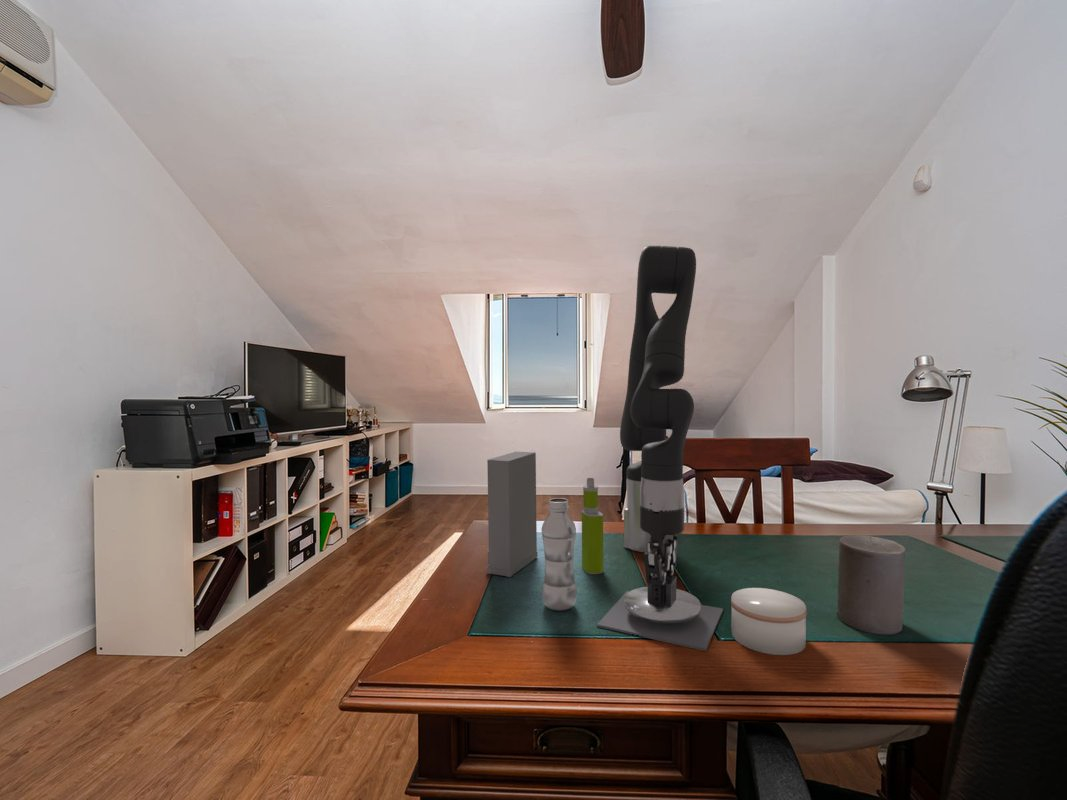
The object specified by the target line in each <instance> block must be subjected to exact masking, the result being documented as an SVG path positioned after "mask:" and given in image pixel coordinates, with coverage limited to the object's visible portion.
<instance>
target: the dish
mask: <svg viewBox="0 0 1067 800" xmlns="http://www.w3.org/2000/svg"><path fill="white" fill-rule="evenodd" d="M730 596H731V597H730V605H731V624H730V625H731V628H730V629H731V632H732V633H731V636H732V638H733V637H734V638H735V639H734V638H733V639H734V640H735V641H736V642H737V643H739V644H740V645H741V646H744V647H745V648H748V649H750V650H752V651H756V652H758V653H763V654H766V655H773V656H790V655H795V654H798V653H801V652H802V651H804V650H805V649H806V643H807V642H806V639H807V636H806V635H807V634H806V631H807V630H806V627H807V621H806V620H807V619H806V618H807V615H808V614H807V611H808V608H807V606H806V603H804V601H803V600H802V599H800V598H799V597H796V596H795V595H792V594H790V593H788V592H785V591H780V590H777V589H771V588H767V587H765V588H763V587H747V588H746V587H745V588H742V589H738V590H736V591H733V592H732V595H730Z"/></svg>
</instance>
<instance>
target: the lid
mask: <svg viewBox="0 0 1067 800" xmlns="http://www.w3.org/2000/svg"><path fill="white" fill-rule="evenodd" d="M655 577H658V576H657V575H656V574H655ZM629 591H630V592H628V593H627V594H626V595H625V608H626V609H627V610H628V611H629V612H630V613H631V614H633V615H634V616H636V617H638V618H641V619H644V620H647V621H651V622H657V623H667V624H674V623H683V622H688V621H691V620H693V619H695V618H697V617H698V616H699V615H700V613H701V605H702V603H701V602H700V600H699V599H698V598H697V597H696V596H695V595H693V594H692V593H689V592H688V591H685V590H682V589H679V588H677V576H675V575H672V576H670V575H666V584H665V605H664V606H657V605H653V604H652V584H651V583H647V586H642V587H637V588H634V589H631V590H629Z"/></svg>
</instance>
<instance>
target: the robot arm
mask: <svg viewBox="0 0 1067 800" xmlns="http://www.w3.org/2000/svg"><path fill="white" fill-rule="evenodd" d="M696 271H697V257H696V253H695V250H694V249H692V248H691V247H686V246H668V245H646V246H645V247H643V248H642V250H641V253H640V255H639V261H638V267H637V279H636V281H637V282H636V298H635V299H636V301H635V302H636V303H635V317H634V318H635V319H634V324H633V332H632V340H631V344H630V352H629V361H628V373H627V374H628V375H627V385H626V386H627V387H626V388H627V389H626V394H625V395H626V396H625V400H624V401H625V402H624V405H623V411H622V417H621V420H620V427H619V439H620V440H619V441H620V444H621V447H622V448H623V449H624V450H626V451H632V452H640V453H641V454H640V455H641V456H640V457H641V458H640V459H641V460H639V461H637V462H635V463H632V464H630V465H628V466H627V467H626V471H625V472H626V507H625V508H624V509H623V548H626V549H629V550H631V551H635V552H639V553H644V554H643V560H644V569H645V578H646V583H647V584H648V583H651V584H652V604H653V605H657V606H664V605H665V584H666V575H670V576H674V571H675V570H674V569H676V567H677V553H678V540H679V534H681V533H683V532H684V530H685V487H684V478H683V477H684V475H683V474H684V471H683V469H684V466H683V465H684V464H683V463H684V449H685V444H686V438H687V435H688V432H689V428H690V425H691V421H692V419H693V415H694V410H695V403H694V399H693V397H692V395H691V393H689V391H688V390H686V389H684V388H664V387H667V386H671V385H674V384H677V383H679V382H680V381H681V380H682V379H683V377H684V374H685V358H686V357H685V356H686V355H685V354H686V353H685V351H686V336H687V329H688V324H689V319H690V313H691V307H692V303H693V295H694V288H695V280H696V274H697V273H696ZM652 294H666V295H676V296H675V298H674V300H673V302H672V304H671V305H670V306H669V308H668V309H667V310H666V311H665V313H664V314H663V315H662V316H661V317H659V316H658V313H657V311H656V309H655V305H654V301H653V296H652ZM667 430H670V431H671V435H670V436H669V437H668V438H667ZM655 574H656V575H657V576H658V577H655Z"/></svg>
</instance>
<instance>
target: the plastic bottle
mask: <svg viewBox="0 0 1067 800" xmlns="http://www.w3.org/2000/svg"><path fill="white" fill-rule="evenodd" d="M569 510H570V507H569V499H567V498H564V497H560V498H559V497H558V498H557V497H556V498H555V497H554V498H550V499H549V500H548V510H547V511H548V512H549V514H548V515H547V516H546V518H545V519H544V521H543V523H542V527H541V535H542V536H541V538H542V544H543V548H544V549H543V553H544V580H543V582H542V583H543V584H542V589H541V591H542V593H541V596H542V597H541V598H542V602H543V604H544V605H545V606H546V607H547V608H548V610H549V609H550V610H552V611H568V610H570V609H571V608H573V607H574V606H575V603H576V601H577V597H578V596H577V595H578V590H577V584H576V580H575V570H574V553H575V552H574V551H575V541H576V535H577V528H576V525H575V522H574V521H573V518H572V517H571V516H570V515H569V513H568V512H569Z"/></svg>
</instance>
